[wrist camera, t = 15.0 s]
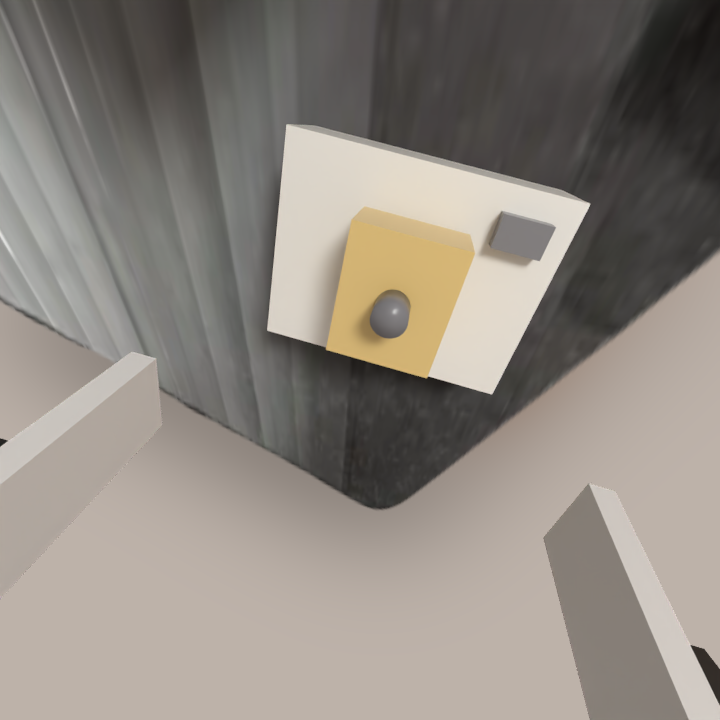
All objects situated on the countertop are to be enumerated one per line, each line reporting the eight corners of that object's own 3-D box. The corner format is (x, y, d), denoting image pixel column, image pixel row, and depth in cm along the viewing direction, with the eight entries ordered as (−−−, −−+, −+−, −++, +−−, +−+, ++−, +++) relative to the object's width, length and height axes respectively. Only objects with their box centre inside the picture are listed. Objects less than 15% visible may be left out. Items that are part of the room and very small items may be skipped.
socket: (292, 301, 35) (262, 336, 29) (314, 125, 27) (280, 123, 21) (484, 355, 34) (493, 402, 28) (561, 190, 27) (596, 206, 21)
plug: (357, 288, 33) (317, 366, 22) (380, 190, 29) (343, 227, 18) (430, 308, 33) (425, 397, 22) (463, 213, 28) (478, 264, 17)
